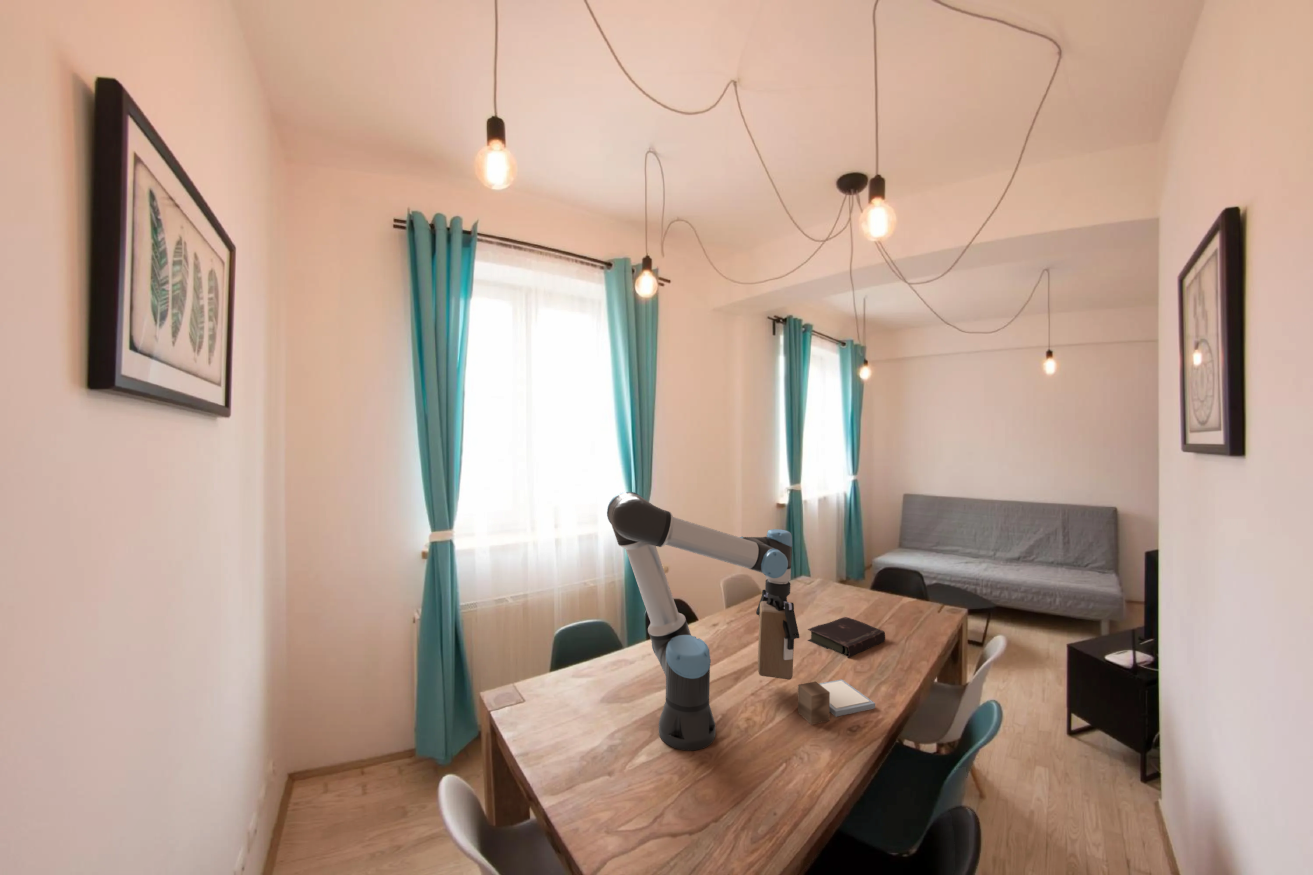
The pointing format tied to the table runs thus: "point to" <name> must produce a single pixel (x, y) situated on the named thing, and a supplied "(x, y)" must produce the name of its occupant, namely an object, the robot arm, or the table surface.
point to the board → (846, 698)
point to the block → (772, 644)
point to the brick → (813, 702)
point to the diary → (846, 636)
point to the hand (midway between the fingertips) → (775, 649)
